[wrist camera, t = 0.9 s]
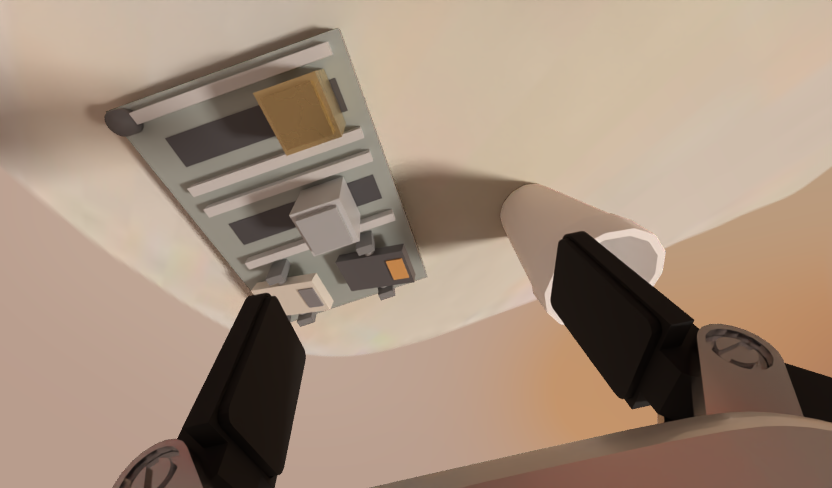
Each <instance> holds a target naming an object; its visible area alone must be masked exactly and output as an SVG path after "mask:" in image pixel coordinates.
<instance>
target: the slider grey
mask: <svg viewBox="0 0 832 488" xmlns="http://www.w3.org/2000/svg"><path fill="white" fill-rule="evenodd" d="M289 216H290V218H291V219H292V221H293V223H294V224H295V226H296V228H297V229H298V231H299V233H300V234H301V236H302V238H303V239H304V241H305V243H306V244H307V246H308V248H309V249H310V251H311V253H312V254H313V256H317V255H320V254H323V253H326V252H329V251H332V250H335V249H338V248H341V247H344V246H347V245H350V244H353V243H356V242H359V241H360V212H359V210H358V208H357V206H356V203H355V201H354V199H353V197H352V195H351V192H350V190H349V188H348V186H347V183H346V181H345V179H344V177H343V176H342V177H339V178H336V179H333V180H330V181H327V182H325V183H322V184H319V185H316V186H313V187H310V188H307V189H304V190H301V191H300V193H299V196H298V198H297V200H296V202H295V204H294V206H293V208H292V210H291V212H290V214H289Z"/></svg>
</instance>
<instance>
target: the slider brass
mask: <svg viewBox="0 0 832 488" xmlns="http://www.w3.org/2000/svg"><path fill="white" fill-rule="evenodd" d="M253 95H254V96H255V98H256V100H257V102H258V104H259V106H260V108H261V109H262V111H263V113H264V115H265V117H266V119H267V121H268V122H269V124H270V126H271V128H272V130H273V132H274V133H275V135H276V137H277V139H278V141H279V143H280V145H281V146H282V148H283V150H284V152H285V154H286V156H288V155H291V154H294V153H297V152H299V151H302V150H305V149H308V148H311V147H314V146H317V145H320V144H322V143H325V142H328V141H331V140H334V139H337V138H340V137H342V136H343V132H344V128H345V125H346V122H345V119H344V117H343V114H342V112H341V109H340V107H339V104H338V102H337V99H336V97H335V94H334V92H333V90H332V87H331V85H330V82H329V80H328V77H327V75H326V72H325V70H324V69H320V70H317V71H313V72H311V73H308V74H305V75H302V76H299V77H297V78H294V79H291V80H288V81H285V82H283V83H280V84H277V85H274V86H271V87H269V88H266V89H263V90H260V91H257V92H255V93H253Z"/></svg>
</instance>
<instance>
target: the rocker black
mask: <svg viewBox="0 0 832 488" xmlns="http://www.w3.org/2000/svg"><path fill="white" fill-rule="evenodd" d="M335 263H336V265H337V266H338V268H339V270H340V272H341V273H342V275H343V277H344V279H345V281H346V282H347V284H348V286H349V288H350V290H351V291H357V290H364V289H371V288H378V287H381V288H385V287H387V286H391V285H398V284H405V283H412V282H414V281H415V275H416V274H415V271H414V269H413V266H412V263H411V261H410V258H409V256H408V253H407V250H406V248H405V245H404V243H403V244H398V245H392V246H387V247H381V248H376V249H375V251H373V252H370V253H367V254H364V255H361V256H359V255H358V253H357V252H354V253H348V254H343V255H339V256H338V258H337V260H336V262H335Z"/></svg>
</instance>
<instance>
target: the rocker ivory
mask: <svg viewBox="0 0 832 488" xmlns="http://www.w3.org/2000/svg"><path fill="white" fill-rule="evenodd" d="M251 292H252V293H253V294H254V295H257V294H262V293H269V294H270V295H271V296H276V297H277V298H278V300H279V302H280V304H281V306H282V308H283V310H284V312H285V314H286V315H295V314H301V315H303V314H305V313H310V312H318V311H325V310H330V309H331V307H332V304H333V302H334V301H333V299H332V297H331V296H330V294H329V292H328V291H327V289H326V288H325V286H324V284H323V283H322V281H321V280H320V278H319V276H318V275H317V273H311V274H305V275H299V276H293V277H288V278H286V281H283V282H280V283H277V284H274V285H271V286H270V285H269V284H268V283H267V281H264V282H258V283H256V285H255V286H254V287H253V289H252V290H251Z"/></svg>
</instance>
